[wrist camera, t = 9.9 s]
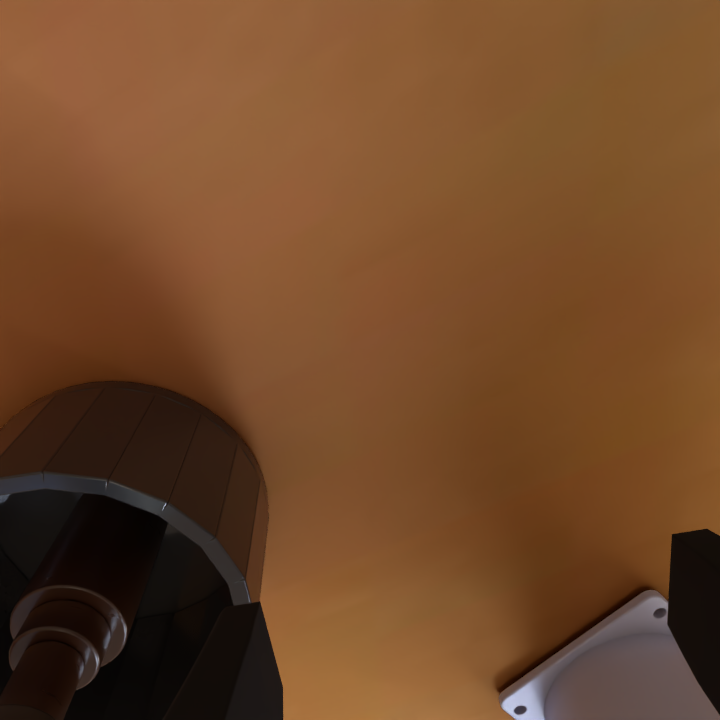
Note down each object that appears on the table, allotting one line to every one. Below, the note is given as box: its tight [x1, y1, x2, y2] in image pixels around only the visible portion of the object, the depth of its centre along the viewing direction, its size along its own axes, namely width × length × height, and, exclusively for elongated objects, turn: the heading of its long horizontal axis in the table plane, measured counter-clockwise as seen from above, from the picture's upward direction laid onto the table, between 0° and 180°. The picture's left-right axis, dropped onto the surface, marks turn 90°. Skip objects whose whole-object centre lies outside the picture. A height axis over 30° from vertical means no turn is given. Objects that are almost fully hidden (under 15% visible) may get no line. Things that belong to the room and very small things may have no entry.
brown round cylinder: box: [0, 381, 269, 720], centre depth 19 cm, size 10×10×6 cm
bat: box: [0, 493, 167, 720], centre depth 17 cm, size 3×3×8 cm
